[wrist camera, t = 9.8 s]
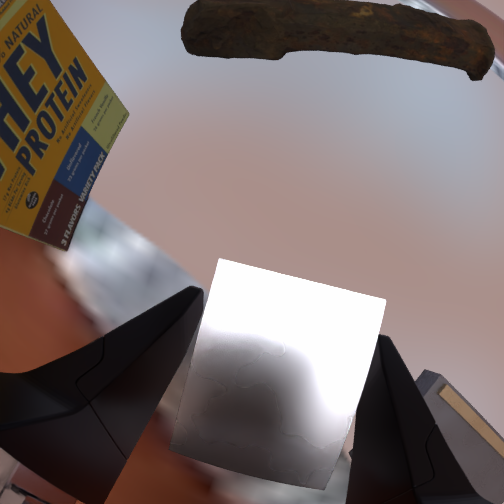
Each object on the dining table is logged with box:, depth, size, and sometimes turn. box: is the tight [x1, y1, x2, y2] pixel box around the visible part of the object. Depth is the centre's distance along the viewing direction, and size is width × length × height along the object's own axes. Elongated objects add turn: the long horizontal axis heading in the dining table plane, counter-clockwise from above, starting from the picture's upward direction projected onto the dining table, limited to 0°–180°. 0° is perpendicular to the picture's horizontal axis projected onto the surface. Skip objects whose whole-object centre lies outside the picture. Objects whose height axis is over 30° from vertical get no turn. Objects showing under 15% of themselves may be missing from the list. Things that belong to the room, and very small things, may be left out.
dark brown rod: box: [181, 0, 495, 81], centre depth 17 cm, size 23×5×6 cm, turn 89°
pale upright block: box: [169, 258, 386, 490], centre depth 11 cm, size 4×5×9 cm
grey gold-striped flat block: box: [349, 370, 504, 504], centre depth 12 cm, size 12×6×2 cm, turn 47°
